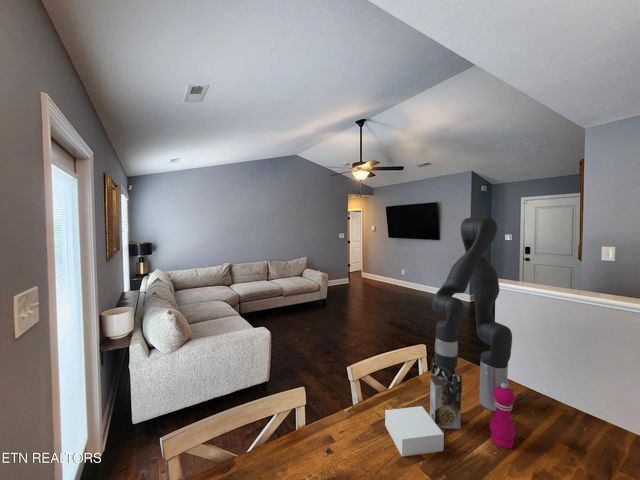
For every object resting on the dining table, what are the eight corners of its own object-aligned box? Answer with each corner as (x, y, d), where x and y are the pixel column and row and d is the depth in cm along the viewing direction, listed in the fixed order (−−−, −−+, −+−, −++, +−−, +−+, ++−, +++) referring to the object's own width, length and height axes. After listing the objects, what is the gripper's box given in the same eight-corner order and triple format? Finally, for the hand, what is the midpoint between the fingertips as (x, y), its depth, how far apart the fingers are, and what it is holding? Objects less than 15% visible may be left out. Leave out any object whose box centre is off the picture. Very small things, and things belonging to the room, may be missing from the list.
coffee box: (454, 417, 108) (455, 375, 107) (461, 429, 102) (462, 385, 101) (429, 415, 109) (429, 374, 108) (434, 428, 103) (435, 384, 102)
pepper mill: (511, 436, 99) (513, 379, 97) (518, 452, 92) (520, 391, 90) (487, 431, 101) (489, 375, 100) (492, 446, 94) (494, 387, 93)
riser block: (421, 421, 106) (421, 406, 106) (443, 451, 93) (443, 434, 92) (385, 426, 104) (385, 410, 104) (401, 457, 91) (402, 439, 90)
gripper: (469, 359, 97) (468, 405, 99) (443, 341, 111) (442, 382, 112) (449, 361, 96) (448, 408, 97) (425, 343, 110) (424, 384, 111)
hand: (445, 394), depth 105 cm, fingers open, 8 cm apart
